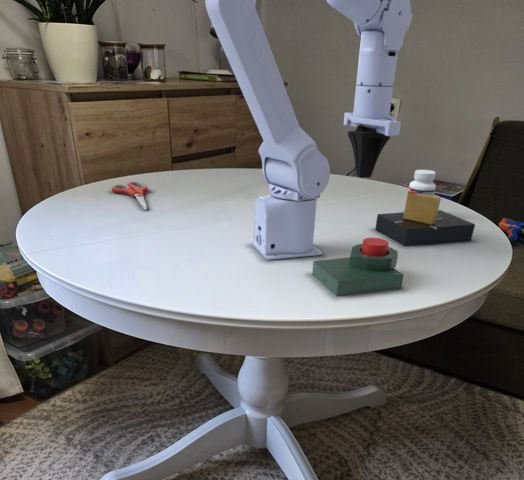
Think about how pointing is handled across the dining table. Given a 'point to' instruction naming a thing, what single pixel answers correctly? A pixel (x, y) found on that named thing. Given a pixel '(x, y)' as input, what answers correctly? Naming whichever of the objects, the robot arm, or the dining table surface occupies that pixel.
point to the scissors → (133, 191)
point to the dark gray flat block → (424, 229)
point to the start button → (375, 247)
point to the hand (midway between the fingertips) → (363, 176)
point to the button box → (359, 273)
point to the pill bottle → (423, 182)
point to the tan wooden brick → (421, 207)
